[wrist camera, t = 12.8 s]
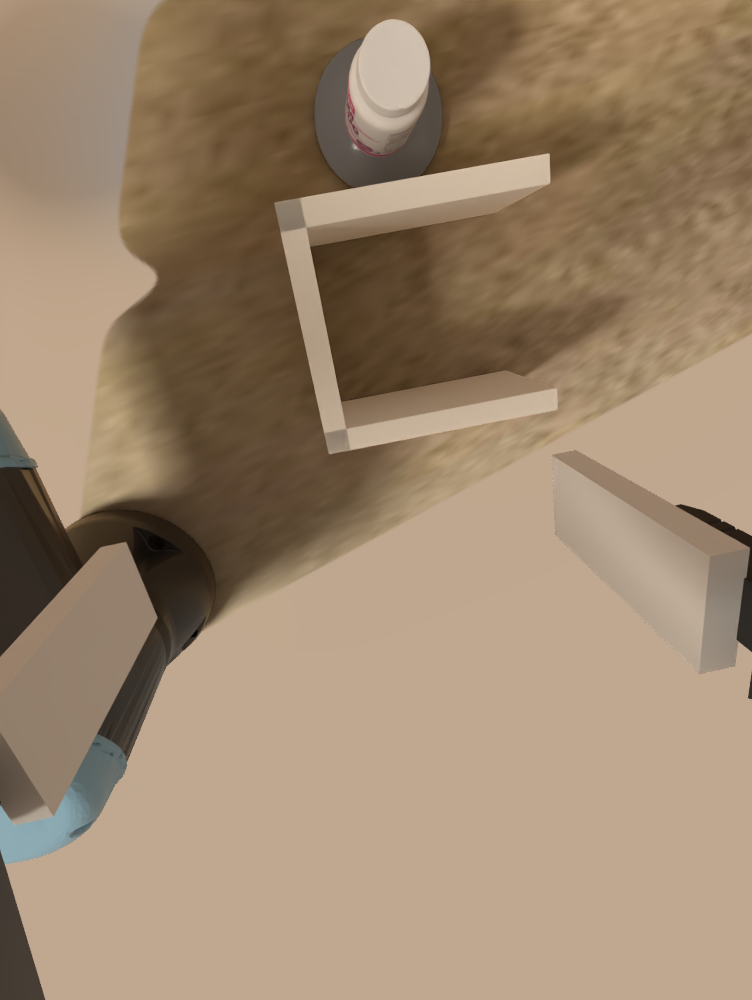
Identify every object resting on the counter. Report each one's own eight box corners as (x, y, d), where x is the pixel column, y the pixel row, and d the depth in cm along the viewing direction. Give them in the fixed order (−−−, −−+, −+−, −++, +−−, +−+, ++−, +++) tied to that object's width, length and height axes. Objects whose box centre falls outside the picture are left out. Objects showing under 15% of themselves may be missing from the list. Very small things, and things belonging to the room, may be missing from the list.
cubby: (327, 422, 43) (328, 454, 33) (285, 228, 37) (273, 202, 28) (506, 387, 43) (557, 409, 34) (493, 191, 38) (549, 153, 28)
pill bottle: (330, 108, 34) (332, 49, 26) (385, 59, 33) (405, -17, 25) (371, 174, 36) (385, 137, 28) (424, 129, 35) (454, 78, 27)
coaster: (329, 205, 37) (329, 203, 36) (301, 53, 33) (301, 48, 33) (446, 184, 37) (449, 181, 36) (431, 32, 34) (434, 25, 33)
